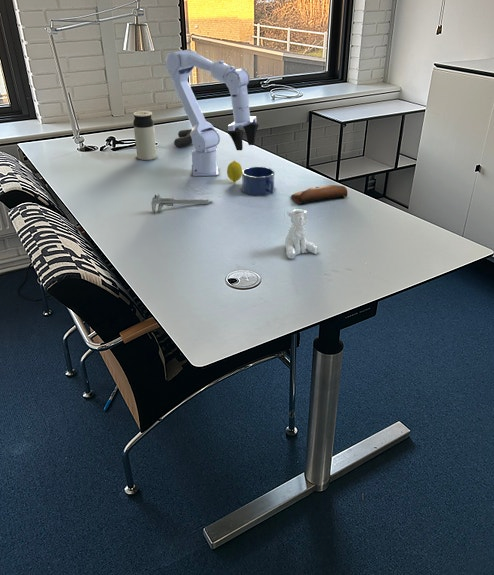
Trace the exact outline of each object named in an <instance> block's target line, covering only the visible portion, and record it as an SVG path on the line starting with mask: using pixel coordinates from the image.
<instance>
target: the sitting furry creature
mask: <svg viewBox="0 0 494 575" xmlns="http://www.w3.org/2000/svg"><path fill="white" fill-rule="evenodd" d="M307 213H308V210H304V209H301V208H299V209H294V210H292V212H291V211H287V213H286V214H287V216H288V217H290V222H291V225H290V226H289V229H288V233H287V235H286V236H285V240H284V244H285V250H286V252H285V253H286V256H287V258H288V259H291V260H293V259H294V258H295V257H296V256H298V255H300V254H308V253H311V254H314V255H317V254H318V253H319V247H318V246H317V245H316V244H315V243H314V242H312V241H308V240H307V239H306V234H307V232H306V231H307V230H306V228H305V227H306V226H305V225H306V223H308V215H307Z"/></svg>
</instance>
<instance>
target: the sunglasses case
mask: <svg viewBox="0 0 494 575" xmlns="http://www.w3.org/2000/svg"><path fill="white" fill-rule="evenodd" d="M338 197H339V198H340V197H345V198H347V197H348V189H347V187H346V186H344V185H337V184H329V185H323V186H315V187H309V188H307V189H305V190H301V191H296V192H294V193H293V194H291V198H292V200H293V201H294V202H296V204H297V205H300V204H304V203H308V202H309V203H310V202H313V201H317V200H324V199H331V198H338Z"/></svg>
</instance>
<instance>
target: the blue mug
mask: <svg viewBox="0 0 494 575" xmlns="http://www.w3.org/2000/svg"><path fill="white" fill-rule="evenodd" d="M241 184H242V185H241V186H242V187H241V190H242V192H243V193H245V194H246V195H250V196H267V195H273V194H274V191H275V170H274V169H272V168H270V167H267V166H250V167H247V168H244V169H242V176H241Z"/></svg>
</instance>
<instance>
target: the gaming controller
mask: <svg viewBox="0 0 494 575" xmlns="http://www.w3.org/2000/svg"><path fill="white" fill-rule="evenodd" d="M191 131H192V128H190V129H182V130H178V133H177V136H178V138H175V139H174V142H173V145H174V146H175V147H176V148H183V147H187V146H190V145H193V144H192V138H191V136H190V133H191Z"/></svg>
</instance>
